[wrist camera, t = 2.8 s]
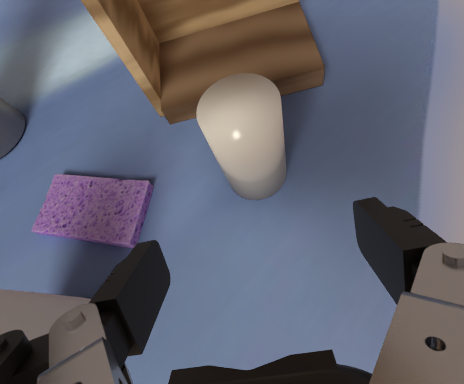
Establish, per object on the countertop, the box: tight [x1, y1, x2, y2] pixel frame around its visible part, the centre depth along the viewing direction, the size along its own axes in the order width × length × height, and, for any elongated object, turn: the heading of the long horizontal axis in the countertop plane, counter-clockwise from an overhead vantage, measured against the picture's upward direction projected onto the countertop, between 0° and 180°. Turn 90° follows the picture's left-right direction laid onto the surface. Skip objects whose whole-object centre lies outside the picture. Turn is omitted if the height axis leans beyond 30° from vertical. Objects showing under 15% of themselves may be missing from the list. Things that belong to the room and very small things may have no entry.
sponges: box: [31, 174, 154, 248], centre depth 30 cm, size 7×13×2 cm, turn 80°
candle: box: [196, 73, 287, 200], centre depth 24 cm, size 6×6×10 cm
